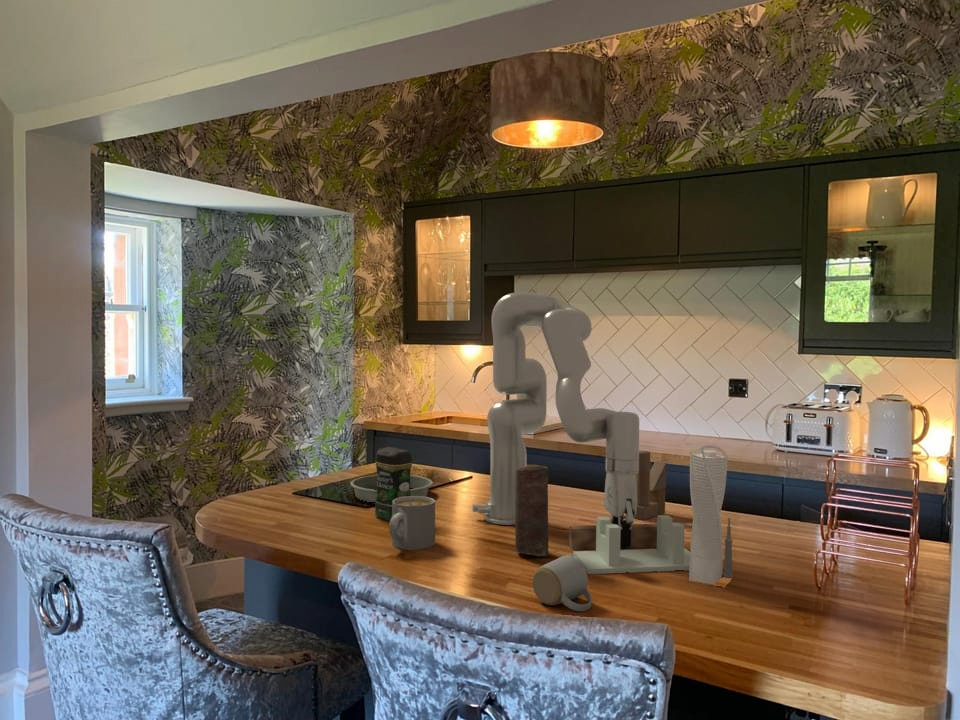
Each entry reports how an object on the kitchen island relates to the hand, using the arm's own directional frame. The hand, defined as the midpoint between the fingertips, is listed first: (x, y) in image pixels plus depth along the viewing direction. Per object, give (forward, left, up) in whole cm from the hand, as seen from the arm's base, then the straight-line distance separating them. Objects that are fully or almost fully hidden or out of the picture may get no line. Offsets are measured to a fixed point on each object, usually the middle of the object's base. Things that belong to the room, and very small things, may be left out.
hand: (620, 542), depth 167 cm
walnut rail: (0, 0, -1) cm, 1 cm away
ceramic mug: (-22, -33, -1) cm, 39 cm away
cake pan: (-52, +57, -1) cm, 77 cm away
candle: (-22, -4, -1) cm, 22 cm away
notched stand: (0, -12, -1) cm, 12 cm away
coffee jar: (-52, +31, -1) cm, 61 cm away
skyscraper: (+10, -24, -1) cm, 26 cm away
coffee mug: (-49, +6, -1) cm, 49 cm away
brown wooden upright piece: (+17, +26, -1) cm, 31 cm away
